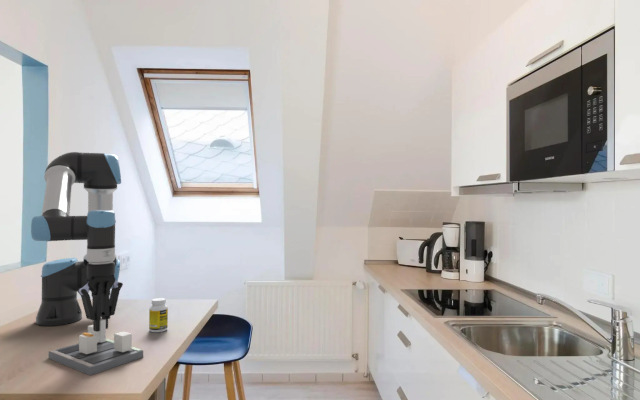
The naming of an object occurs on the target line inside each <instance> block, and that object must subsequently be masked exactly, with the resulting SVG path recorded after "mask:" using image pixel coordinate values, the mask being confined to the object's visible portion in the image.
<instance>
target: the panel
mask: <svg viewBox="0 0 640 400" xmlns="http://www.w3.org/2000/svg"><path fill="white" fill-rule="evenodd" d="M47 354H48V357H47V358H48V359H49V360H51V361H54V362H56V363H59V364H60V365H63V366H66V367H67V368H71V369H73V370H77V371H78V372H81V373H83V374H86V375H88V376H92V375H96V374H98V373H101V372H104V371H107V370H109V369H113V368H116V367H118V366H122V365H125V364H127V363H130V362H133V361H136V360H139V359H141V358H144V350H143V349H141V348H138V347H135V346H132V349H131V350H128V351H125V352H119V351H116V350H114V339H113V340H112V339H109V338H106V341H105V342H101V343H100V342H98V343H97V351H96V352H93V353H89V354H84V353H82V352H79V342H78V343H76V344H71V345H67V346H64V347H60V348H57V349H54V350H50V351H48V353H47Z"/></svg>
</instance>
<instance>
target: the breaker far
mask: <svg viewBox="0 0 640 400" xmlns="http://www.w3.org/2000/svg"><path fill="white" fill-rule="evenodd" d="M87 333H92V334H95V335H96V331H94V330H93V324H90V325H87ZM97 343H98V342H97Z"/></svg>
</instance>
